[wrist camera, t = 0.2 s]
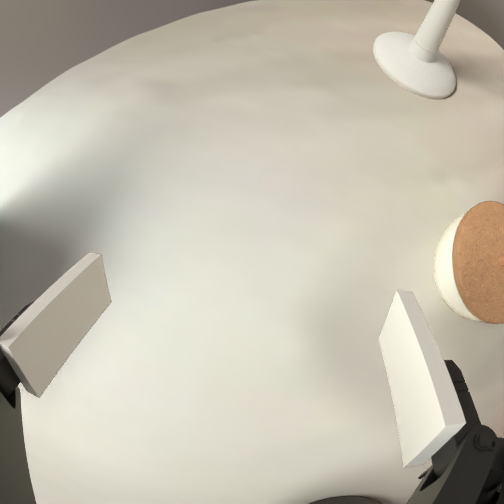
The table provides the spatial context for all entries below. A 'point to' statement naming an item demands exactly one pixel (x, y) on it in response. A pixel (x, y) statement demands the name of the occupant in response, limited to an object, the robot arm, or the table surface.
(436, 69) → the candlestick
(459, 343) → the table surface
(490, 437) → the robot arm
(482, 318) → the lidded jar
